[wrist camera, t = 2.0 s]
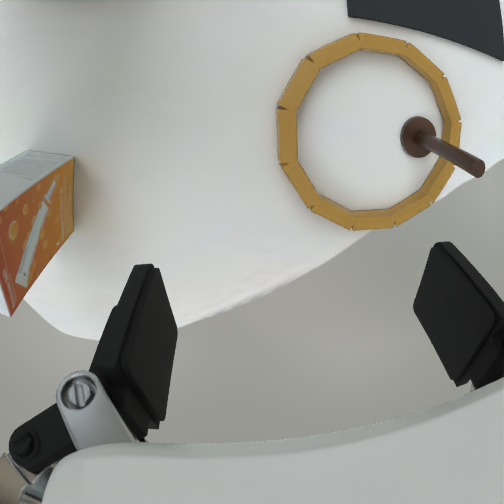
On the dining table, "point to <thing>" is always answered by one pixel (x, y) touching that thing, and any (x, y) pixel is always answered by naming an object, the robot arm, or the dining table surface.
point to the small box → (32, 219)
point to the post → (436, 146)
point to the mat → (441, 19)
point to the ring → (288, 131)
